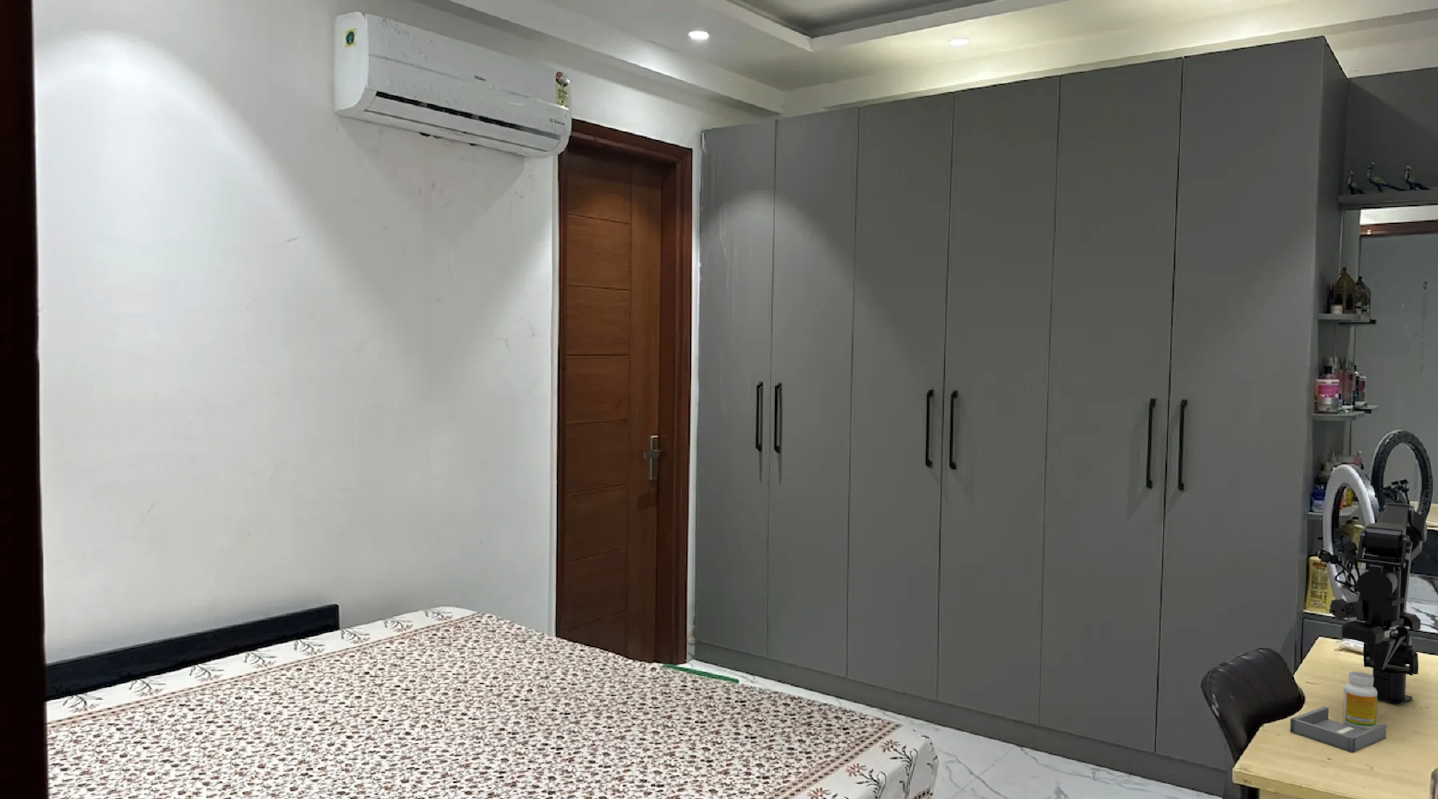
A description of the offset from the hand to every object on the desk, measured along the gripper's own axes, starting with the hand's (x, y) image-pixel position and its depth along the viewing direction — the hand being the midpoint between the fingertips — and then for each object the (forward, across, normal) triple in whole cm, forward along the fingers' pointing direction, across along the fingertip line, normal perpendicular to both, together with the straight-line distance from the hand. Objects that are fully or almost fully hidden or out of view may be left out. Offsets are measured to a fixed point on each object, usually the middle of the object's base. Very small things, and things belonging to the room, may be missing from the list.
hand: (1379, 669), depth 191 cm
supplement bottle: (+10, +7, 0) cm, 12 cm away
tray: (+9, +16, +1) cm, 19 cm away
